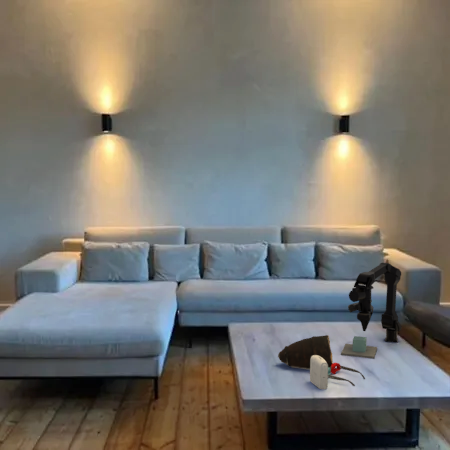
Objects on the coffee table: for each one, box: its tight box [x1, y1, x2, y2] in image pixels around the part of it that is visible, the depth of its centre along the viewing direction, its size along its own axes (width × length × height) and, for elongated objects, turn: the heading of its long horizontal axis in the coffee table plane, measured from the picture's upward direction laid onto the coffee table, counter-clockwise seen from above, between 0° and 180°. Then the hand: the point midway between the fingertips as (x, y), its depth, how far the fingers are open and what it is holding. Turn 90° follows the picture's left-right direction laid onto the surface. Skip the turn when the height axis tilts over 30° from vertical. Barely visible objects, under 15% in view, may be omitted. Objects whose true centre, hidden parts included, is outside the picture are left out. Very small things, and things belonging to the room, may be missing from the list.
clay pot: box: [277, 334, 334, 371], centre depth 242 cm, size 15×15×25 cm
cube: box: [352, 335, 367, 352], centre depth 263 cm, size 6×6×6 cm
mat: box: [340, 343, 378, 360], centre depth 263 cm, size 16×16×1 cm
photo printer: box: [309, 355, 329, 390], centre depth 220 cm, size 10×4×12 cm, turn 17°
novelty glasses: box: [328, 362, 366, 387], centre depth 227 cm, size 14×15×5 cm
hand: (365, 328), depth 264 cm, fingers open, 9 cm apart
